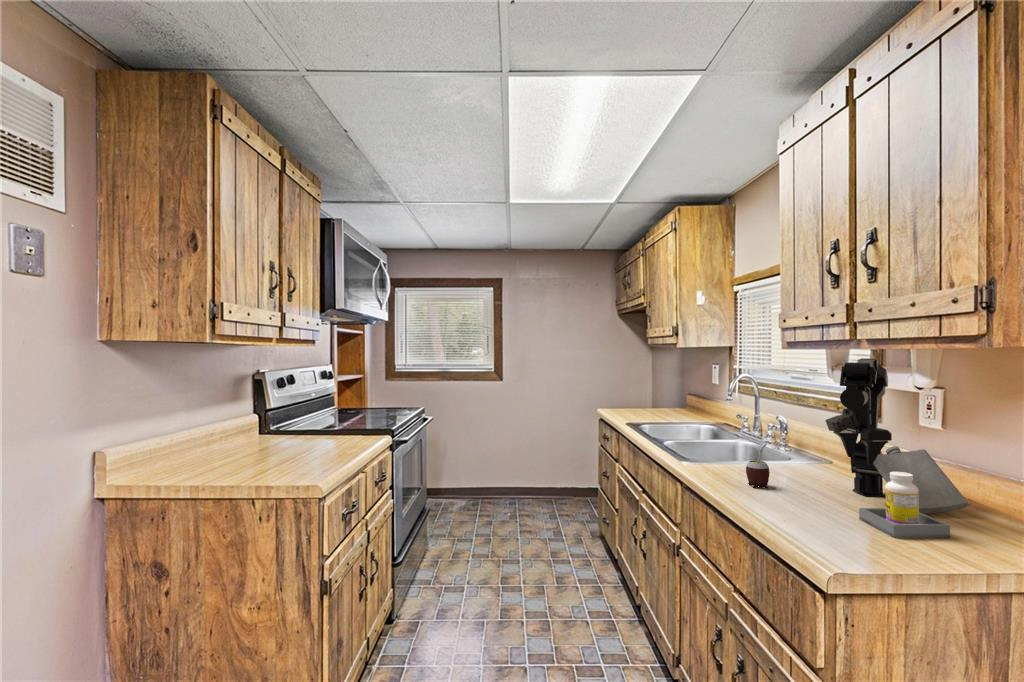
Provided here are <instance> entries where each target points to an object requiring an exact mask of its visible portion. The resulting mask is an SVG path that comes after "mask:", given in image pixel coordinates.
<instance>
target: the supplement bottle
mask: <svg viewBox="0 0 1024 682" xmlns="http://www.w3.org/2000/svg"><path fill="white" fill-rule="evenodd" d="M890 478H891V482H888V483H886V484H885V490H884V491H885V494H886V496H885V508H886V520H888V521H890V522H892V523H894V524H919V500H918V488H917V487H916V486H915V485H914V484H912V481H913V475H912V474H910V473H905V472H890Z"/></svg>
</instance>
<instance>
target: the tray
mask: <svg viewBox="0 0 1024 682" xmlns="http://www.w3.org/2000/svg"><path fill="white" fill-rule="evenodd" d="M858 515H859V517H858V519H859V521H862V522H863V523H865V524H867V525H869V526H870V527H873V528H875V529H876V530H878V531H880V532H883V533H885V534H886V535H888V536H889V537H891V538H893V539H903V538H904V539H951V525H950V524H947V523H945V522H943V521H941V520H938V519H936V518H933V517H931V516H929V515H927V514H922V513H920V512H919V524H894V523H892V522H890V521H888V520H886V507H859V508H858Z"/></svg>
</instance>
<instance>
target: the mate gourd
mask: <svg viewBox="0 0 1024 682" xmlns="http://www.w3.org/2000/svg"><path fill="white" fill-rule="evenodd" d="M766 446H767V443H764V445H762V447H761V448H759V453H758V460H749V461H748V462H747V463H746V466H745V474H746V478H747V481H748V483H747V485H748V484H749V485H748V486H751V485H754V486H752V489H757V488H756V487H758V486H759V487H758V488H761V487H765V488H764V489H769V487H768V484H769V479H770V468H769V464H768V463H767V462H765V461H762V460H761V458H762V453H763V452H764V448H765V447H766Z"/></svg>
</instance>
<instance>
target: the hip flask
mask: <svg viewBox="0 0 1024 682" xmlns="http://www.w3.org/2000/svg"><path fill="white" fill-rule="evenodd" d="M873 464H874V465H875V467H876V468H877V470H878V471H879V473H880V474H881V475H882V477H883V480H884V481H885V483H886V484H887V483H888V482H891V478H890V472H905V473H910V474H912V475H913V481H912V484H914V485H915V486H916V487H917V488H918V500H919V512H920V513H922V514H925V515H927V514H928V515H930V514H938V513H945V512H951V511H952V512H953V511H959V510H963V509H965V508H967V507H969V505H970V503H969V502H968V500H967V499H966V497H964V495H963V494H962V493H961V492H960V491H959V489H958V488H957V487H956V486H955V484H954V482H953V481H951V479H950V477H948V476H947V475H946V473H945V472H944V471H943V469H942V468H941V467H940V466H939V465H938V463H937V462H936V461H935V459H934V458H933V457H932V456H931V454H929V452H928V451H927V450H926V449H923V448H921V449H917V450H910V451H901V449H900V448H899V446H897V445H894V446H890V447H888V448H887V449H886V450H885V454H884V453H882V454H878V456H877V458H876V459H875V461H874V463H873Z"/></svg>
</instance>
